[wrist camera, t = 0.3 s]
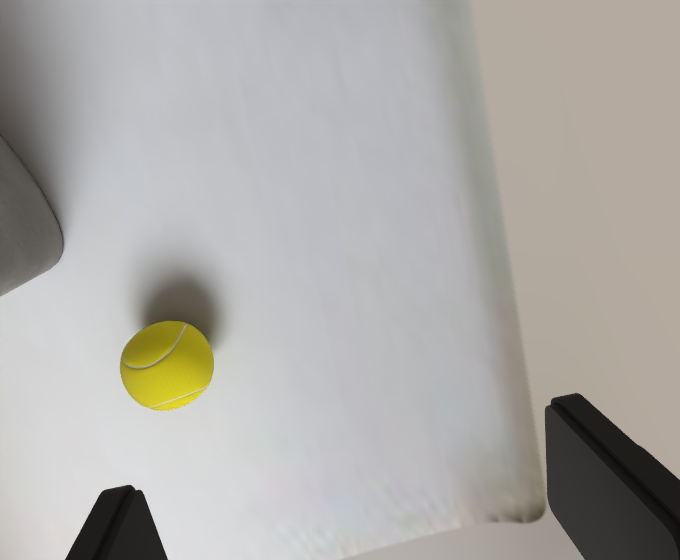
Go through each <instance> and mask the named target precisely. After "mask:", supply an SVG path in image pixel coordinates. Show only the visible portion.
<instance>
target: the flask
mask: <svg viewBox="0 0 680 560" xmlns="http://www.w3.org/2000/svg"><path fill="white" fill-rule="evenodd" d="M62 253H63V239H62V236H61V232H60V228H59V225H58V223H57V221H56V219H55V216H54V214H53V212H52V210H51V208H50V206H49V204H48V203H47V201H46V199H45V197H44V195H43V194H42V192H41V190H40V189H39V187H38V185H37V184H36V182H35V180H34V179H33V177H32V176H31V174H30V173H29V172H28V170H27V169H26V167H25V166H24V164H23V163H22V162H21V160H20V159H19V158H18V156H17V155H16V154H15V152H14V151H13V150H12V149H11V147H10V146H9V145H8V144H7V143H6V141H5V140H4V139H3V138H2V137H1V135H0V296H2V295H4V294H6V293H8V292H9V291H11V290H13V289H15V288H17V287H18V286H20V285H22V284H24V283H26V282H28V281H29V280H31V279H33V278H35V277H37V276H38V275H40V274H42V273H44V272H46V271H48V270H49V269H51V268H52V267H53V266H54V265H55V264H57V263H58V262H59V260H60V257H61V255H62Z"/></svg>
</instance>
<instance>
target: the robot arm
mask: <svg viewBox="0 0 680 560" xmlns="http://www.w3.org/2000/svg"><path fill="white" fill-rule="evenodd" d="M545 431H546V460H547V461H546V463H547V496H548V502H549V505H550V508H551V510H552V512H553V514H554V515H555V517H556V518H557V520H558V521H559V523H560V524H561V526H562V527H563V529H564V530H565V532H566V533H567V534H568V536H569V537H570V539H571V540H572V542H573V543H574V544H575V546H576V547H577V549H578V550H579V552H580V553H581V555H582V556H583V557H584V559H585V560H680V480H679V479H678V478H677V477H676V476H675V475H673V474H672V473H671V472H670V471H669V470H668V469H667V468H665V467H664V466H663V465H662V464H661V463H660V462H659V461H658V460H656V459H655V458H654V457H653V456H652V455H651V454H650V453H649V452H647V451H646V450H645V449H644V448H642V447H641V446H639V445H637V444H636V443H635V442H634V441H632V440H631V439H630V438H629V437H628V436H627V435H625V433H623V432H622V431H621V430H620V429H619V428H618V427H617V426H616V425H614V424H613V423H612V422H611V421H610V420H609V419H608V418H606V417H605V416H604V415H603V414H602V413H601V412H600V411H599V410H597V409H596V408H595V407H594V406H593V405H592V404H591V403H590V402H589V401H588V400H586V399H585V398H584V397H583V396H582V395H580V394H578V393H575V394H570V395H565V396H560V397H555V398H553V399H552V400H551V405H549V406H546V408H545ZM65 560H168V559H167V556H166V553H165V551H164V548H163V545H162V543H161V540H160V537H159V534H158V532H157V529H156V526H155V524H154V521H153V518H152V515H151V513H150V510H149V507H148V504H147V502H146V499H145V496H144V494H143V492H142V491H141V490H135V488H134V487H133V486H132V485H126V486H121V487H116V488H112V489H107V490H104V491H102V492H101V494H100V495H99V497H98V499H97V501H96V503H95V505H94V506H93V508H92V510H91V512H90V514H89V516H88V518H87V520H86V521H85V523H84V525H83V527H82V529H81V531H80V533H79V535H78V536H77V538H76V540H75V542H74V544H73V546H72V548H71V550H70V551H69V553H68V555H67V557H66V559H65Z"/></svg>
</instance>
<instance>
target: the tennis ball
mask: <svg viewBox="0 0 680 560" xmlns="http://www.w3.org/2000/svg"><path fill="white" fill-rule="evenodd" d="M213 369H214V359H213V353H212V350H211V347H210V345H209V343H208V341H207V340H206V338H205V337H204V335H203V334H202V333H201V332H200V331H199V330H198V329H196V328H195V327H193V326H192V325H190V324H187V323H185V322H180V321H163V322H159V323H155V324H152V325H150V326H148V327H146V328H144V329H143V330H141V331H140V332H138V333H137V334H136V335H135V336H134V337H133V338H132V339H131V340H130V341H129V342H128V344H127V345H126V346H125V348H124V350H123V353H122V356H121V362H120V373H121V378H122V381H123V384H124V386H125V388H126V390H127V391H128V393H129V394H130V396H131V397H132V398H133V399H134V400H135V401H137V402H138V403H139V404H141V405H142V406H144V407H147V408H150V409H153V410H159V411H163V410H172V409H176V408H180V407H182V406H185V405H187V404H189V403H190V402H192V401H194V400H195V399H196V398H197V397H199V396H200V395H201V394H202V393H203V391H204V390H205V389H206V388H207V386H208V385H209V383H210V381H211V379H212V375H213Z"/></svg>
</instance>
